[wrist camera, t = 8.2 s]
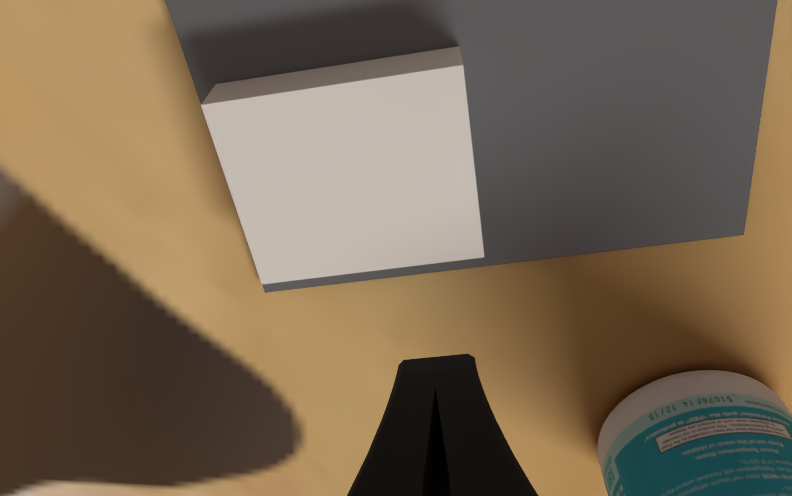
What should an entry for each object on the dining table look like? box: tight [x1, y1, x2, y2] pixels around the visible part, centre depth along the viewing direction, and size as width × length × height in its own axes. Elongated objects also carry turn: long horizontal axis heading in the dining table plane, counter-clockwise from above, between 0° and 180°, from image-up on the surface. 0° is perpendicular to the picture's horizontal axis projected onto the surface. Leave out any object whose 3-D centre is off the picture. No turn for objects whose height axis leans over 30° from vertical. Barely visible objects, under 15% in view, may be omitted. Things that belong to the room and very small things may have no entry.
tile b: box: [201, 46, 484, 284], centre depth 20 cm, size 2×6×7 cm
